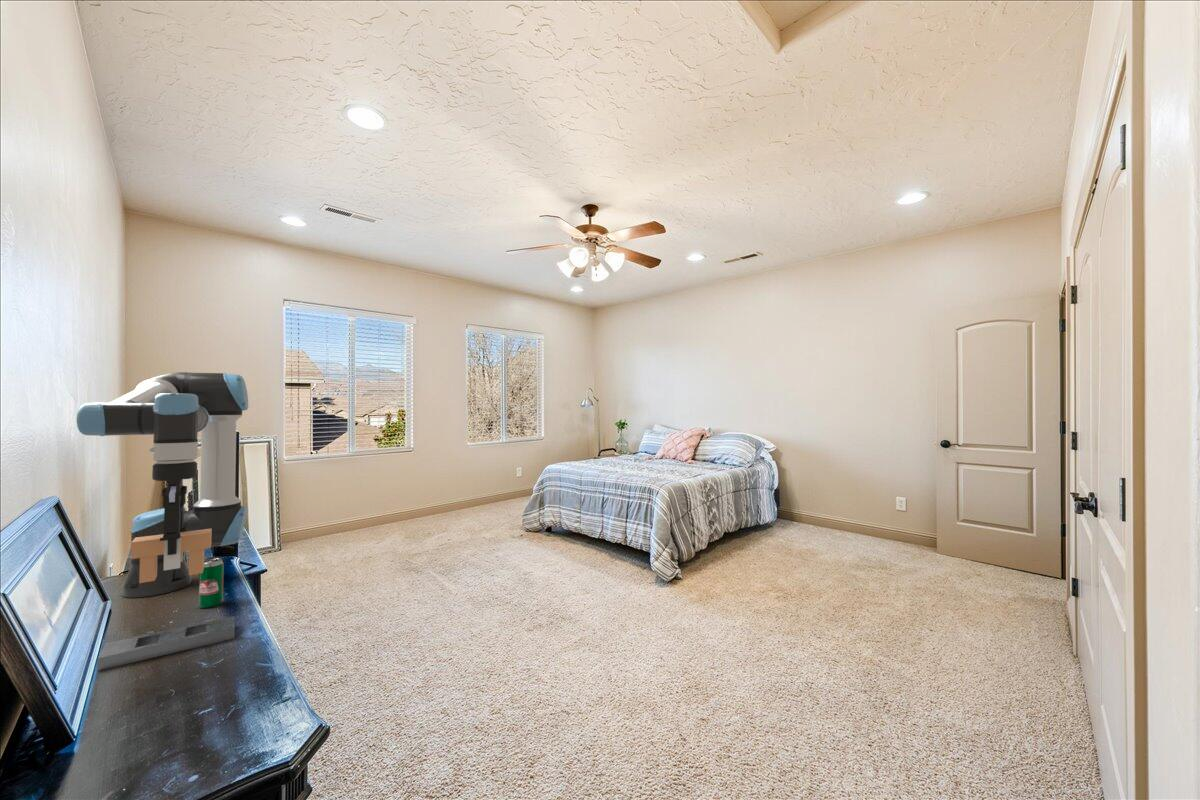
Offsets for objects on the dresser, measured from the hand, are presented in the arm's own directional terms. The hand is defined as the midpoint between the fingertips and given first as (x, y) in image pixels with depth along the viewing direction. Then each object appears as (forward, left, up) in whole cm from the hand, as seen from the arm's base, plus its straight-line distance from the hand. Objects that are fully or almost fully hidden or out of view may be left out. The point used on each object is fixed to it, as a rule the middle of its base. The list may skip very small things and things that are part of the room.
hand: (173, 565), depth 106 cm
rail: (0, 0, -18) cm, 18 cm away
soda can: (-24, +6, -18) cm, 31 cm away
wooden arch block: (0, 0, -2) cm, 2 cm away
